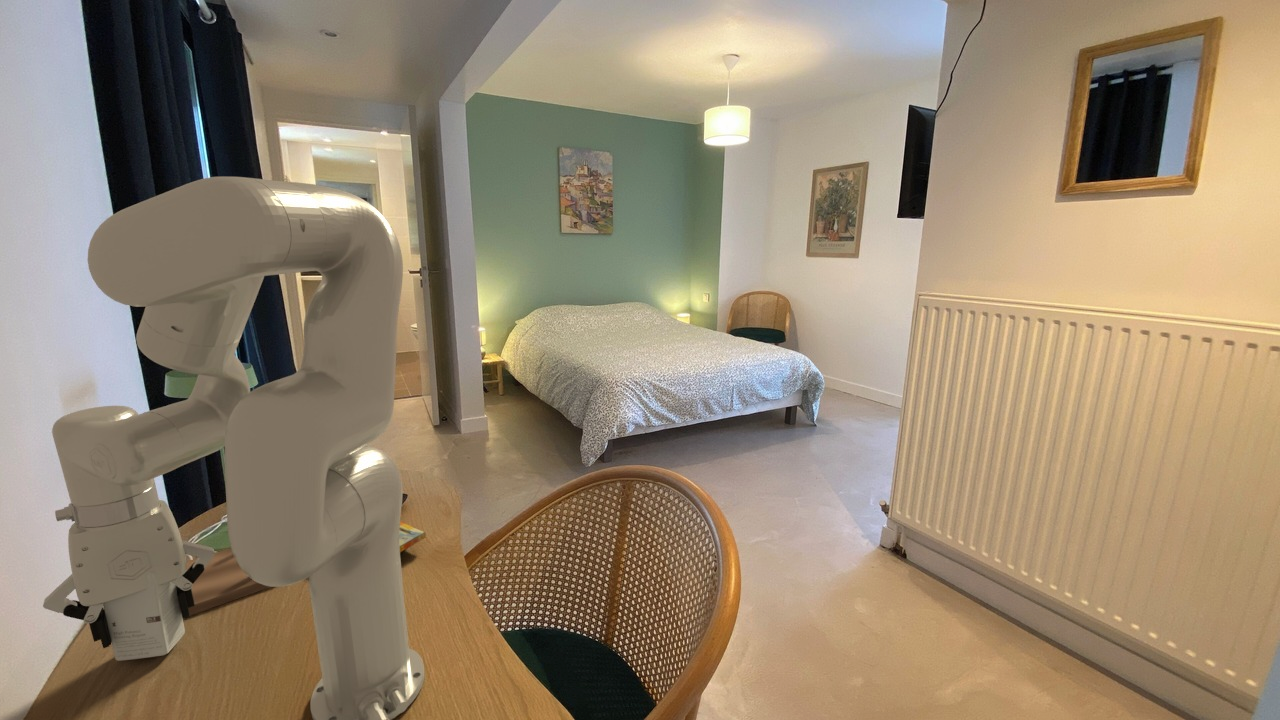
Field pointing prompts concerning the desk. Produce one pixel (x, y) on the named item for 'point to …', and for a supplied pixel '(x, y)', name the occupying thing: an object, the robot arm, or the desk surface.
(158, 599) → the skincare box
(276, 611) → the desk surface
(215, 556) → the post stand
